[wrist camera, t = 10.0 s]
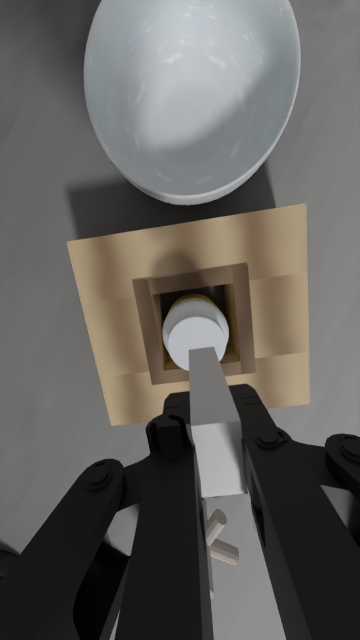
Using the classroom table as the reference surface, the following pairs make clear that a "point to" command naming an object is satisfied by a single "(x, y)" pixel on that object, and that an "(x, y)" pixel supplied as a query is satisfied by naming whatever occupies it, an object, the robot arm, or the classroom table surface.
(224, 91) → the cereal bowl
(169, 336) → the pill bottle
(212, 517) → the pipe connector
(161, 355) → the seat board
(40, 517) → the classroom table surface
